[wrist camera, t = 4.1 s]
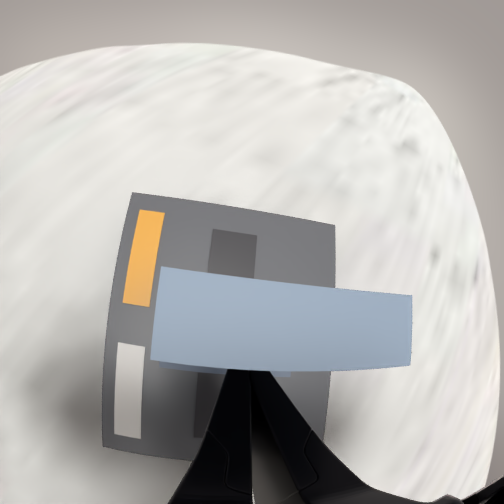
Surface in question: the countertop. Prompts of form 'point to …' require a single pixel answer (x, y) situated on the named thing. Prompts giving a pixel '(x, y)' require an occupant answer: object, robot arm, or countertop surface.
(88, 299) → the countertop surface
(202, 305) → the switch lever
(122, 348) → the switch box
